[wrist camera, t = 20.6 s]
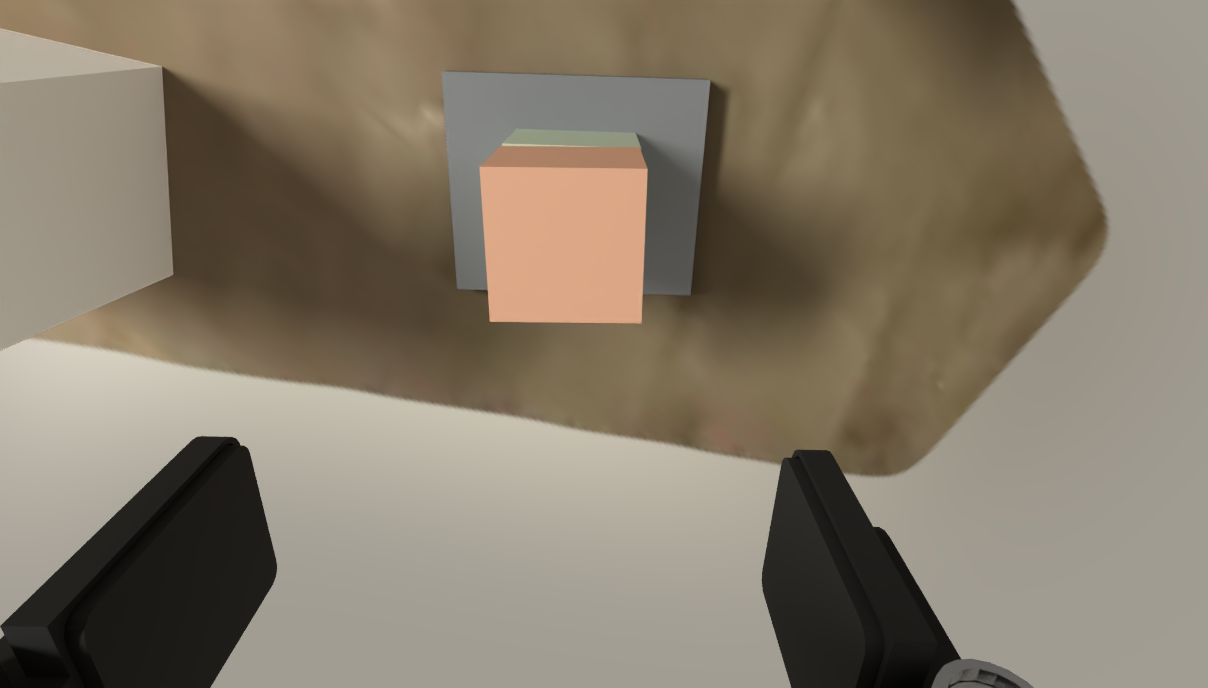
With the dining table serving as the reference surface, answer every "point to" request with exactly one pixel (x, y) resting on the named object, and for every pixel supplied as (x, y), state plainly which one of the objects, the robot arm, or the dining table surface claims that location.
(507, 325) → the dining table surface
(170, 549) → the robot arm
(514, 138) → the sage block
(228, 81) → the dining table surface
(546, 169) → the terracotta block
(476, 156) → the gray plate
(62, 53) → the milk
